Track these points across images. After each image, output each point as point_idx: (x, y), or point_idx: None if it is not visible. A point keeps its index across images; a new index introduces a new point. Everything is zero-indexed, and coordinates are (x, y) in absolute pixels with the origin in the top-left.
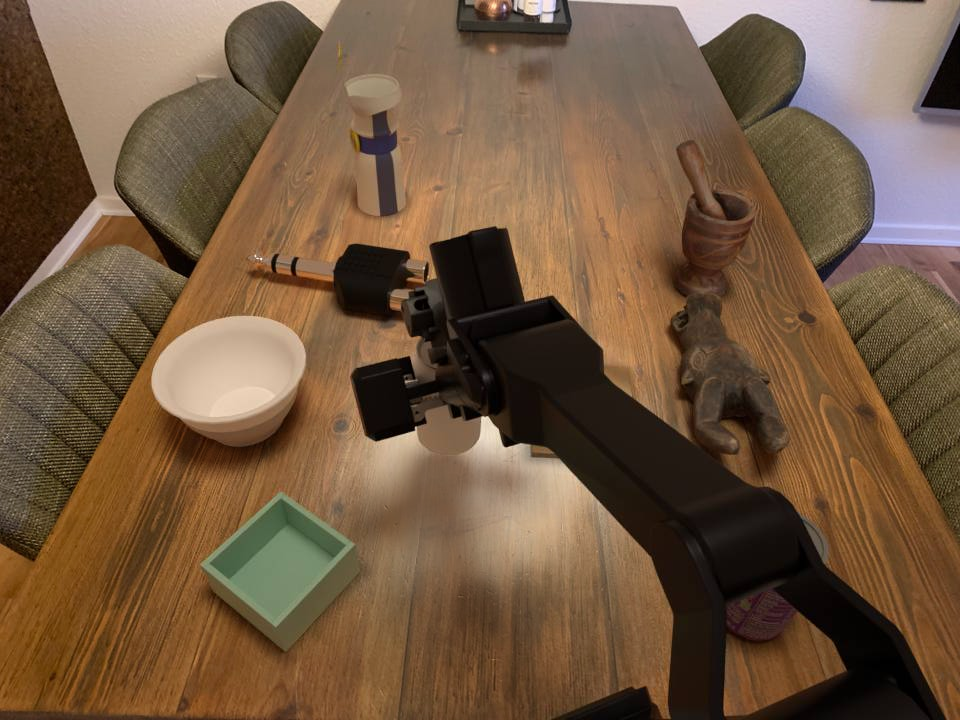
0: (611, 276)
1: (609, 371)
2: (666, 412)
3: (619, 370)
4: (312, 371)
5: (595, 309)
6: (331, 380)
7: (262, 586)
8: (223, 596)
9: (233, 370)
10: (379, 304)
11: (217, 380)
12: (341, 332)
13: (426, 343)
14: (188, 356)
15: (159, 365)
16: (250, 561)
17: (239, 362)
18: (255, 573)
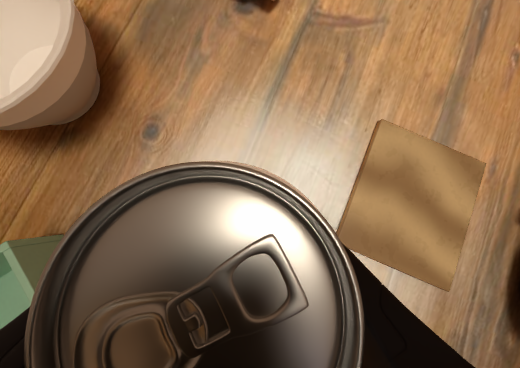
0: (517, 23)
1: (463, 162)
2: (497, 234)
3: (474, 165)
4: (143, 47)
5: (479, 65)
6: (159, 66)
7: (7, 312)
8: None
9: (35, 18)
10: None
11: (16, 27)
12: (191, 2)
13: (124, 233)
14: None
15: None
16: (4, 277)
17: (39, 9)
18: (4, 294)
